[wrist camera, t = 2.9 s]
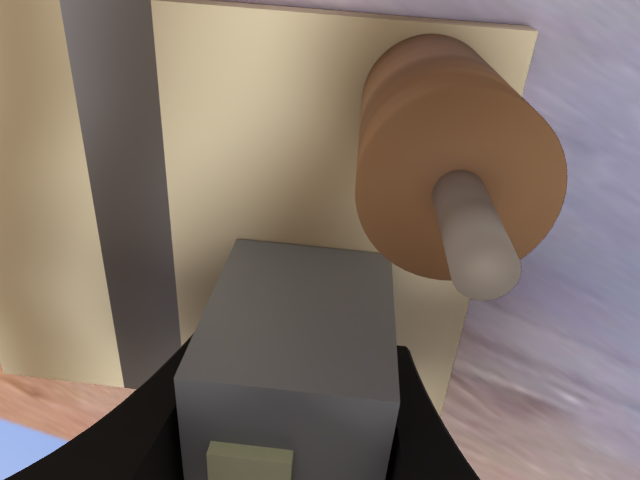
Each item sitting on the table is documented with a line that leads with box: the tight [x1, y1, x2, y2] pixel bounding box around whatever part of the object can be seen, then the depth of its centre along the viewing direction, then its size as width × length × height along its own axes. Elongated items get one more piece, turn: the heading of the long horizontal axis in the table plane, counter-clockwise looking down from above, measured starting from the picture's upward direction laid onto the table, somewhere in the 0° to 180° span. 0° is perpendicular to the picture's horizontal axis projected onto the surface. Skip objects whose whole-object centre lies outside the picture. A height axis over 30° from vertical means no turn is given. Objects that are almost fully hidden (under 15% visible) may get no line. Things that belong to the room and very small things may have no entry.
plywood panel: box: [0, 0, 538, 416], centre depth 14 cm, size 14×12×1 cm
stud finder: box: [174, 239, 400, 480], centre depth 13 cm, size 4×6×5 cm
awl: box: [355, 34, 567, 301], centre depth 8 cm, size 3×3×7 cm
